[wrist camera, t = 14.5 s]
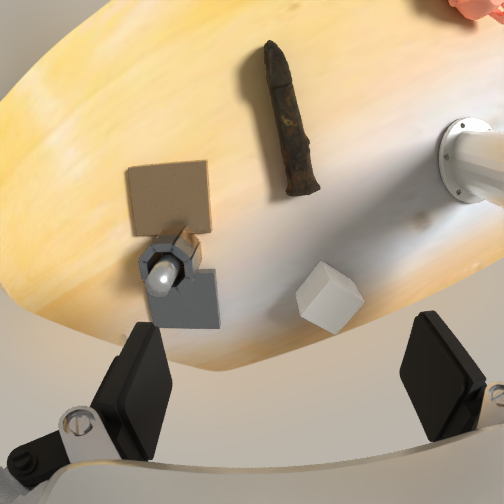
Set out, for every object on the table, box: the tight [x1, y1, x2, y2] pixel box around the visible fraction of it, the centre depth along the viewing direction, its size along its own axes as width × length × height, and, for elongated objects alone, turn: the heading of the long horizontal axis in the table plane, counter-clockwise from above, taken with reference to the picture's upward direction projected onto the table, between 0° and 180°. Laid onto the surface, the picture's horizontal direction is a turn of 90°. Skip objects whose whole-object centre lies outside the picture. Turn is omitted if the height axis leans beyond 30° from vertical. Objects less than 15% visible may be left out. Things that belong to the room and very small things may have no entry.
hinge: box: [128, 160, 221, 329], centre depth 39 cm, size 10×24×6 cm, turn 2°
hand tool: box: [264, 40, 320, 196], centre depth 34 cm, size 19×4×5 cm, turn 10°
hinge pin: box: [145, 252, 183, 297], centre depth 37 cm, size 3×3×10 cm
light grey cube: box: [295, 260, 365, 335], centre depth 41 cm, size 6×6×6 cm
